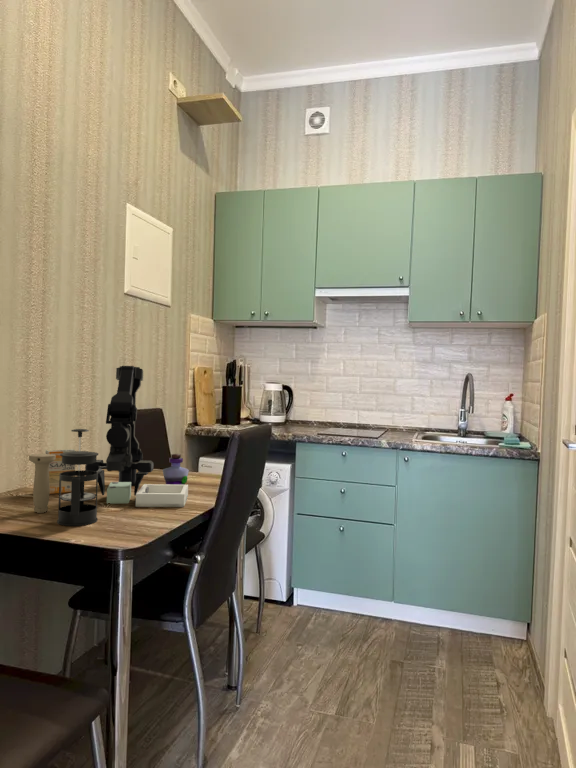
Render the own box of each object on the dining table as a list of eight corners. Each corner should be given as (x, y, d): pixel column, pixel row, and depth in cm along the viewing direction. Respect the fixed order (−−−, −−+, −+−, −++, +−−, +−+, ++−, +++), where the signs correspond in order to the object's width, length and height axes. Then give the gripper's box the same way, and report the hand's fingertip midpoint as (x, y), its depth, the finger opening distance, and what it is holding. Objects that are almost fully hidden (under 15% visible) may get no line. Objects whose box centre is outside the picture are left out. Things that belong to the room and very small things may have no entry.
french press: (60, 516, 141) (63, 427, 141) (99, 515, 144) (101, 427, 144) (53, 528, 130) (55, 431, 130) (95, 527, 132) (97, 431, 132)
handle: (49, 514, 143) (51, 456, 143) (24, 514, 143) (26, 456, 143) (56, 510, 148) (58, 454, 148) (32, 509, 148) (33, 453, 148)
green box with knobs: (110, 496, 167) (110, 481, 167) (130, 496, 169) (131, 481, 169) (106, 504, 158) (107, 488, 158) (128, 504, 159) (128, 487, 159)
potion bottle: (184, 494, 173) (186, 456, 173) (157, 493, 174) (159, 455, 174) (191, 489, 182) (192, 452, 182) (165, 488, 182) (166, 451, 182)
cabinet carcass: (143, 495, 169) (143, 484, 169) (187, 496, 170) (188, 484, 170) (135, 506, 155) (135, 493, 155) (183, 506, 156) (184, 494, 156)
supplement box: (46, 494, 167) (47, 451, 167) (43, 491, 171) (45, 449, 171) (75, 492, 171) (76, 450, 171) (71, 489, 175) (73, 448, 175)
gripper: (80, 445, 154) (79, 500, 154) (148, 446, 156) (147, 501, 156) (90, 440, 165) (89, 492, 165) (154, 442, 167) (152, 493, 167)
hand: (119, 495), depth 163 cm, fingers open, 9 cm apart
